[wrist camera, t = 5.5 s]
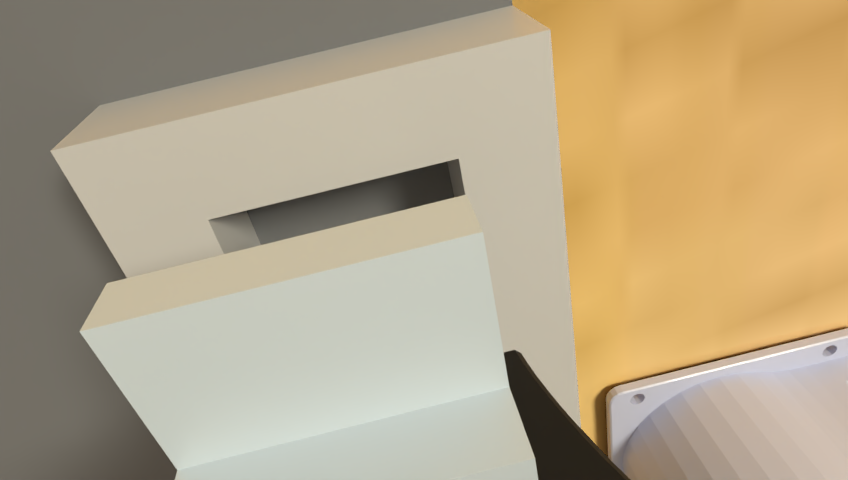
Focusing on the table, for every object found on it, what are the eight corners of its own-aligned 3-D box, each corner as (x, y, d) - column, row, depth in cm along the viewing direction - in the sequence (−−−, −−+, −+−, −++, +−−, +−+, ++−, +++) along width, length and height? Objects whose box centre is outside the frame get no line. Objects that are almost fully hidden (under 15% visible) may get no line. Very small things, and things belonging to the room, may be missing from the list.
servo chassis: (485, -131, 12) (537, -138, 9) (548, 397, 20) (585, 484, 17) (-482, 101, 11) (-765, 174, 8) (-5, 536, 20) (-64, 647, 17)
